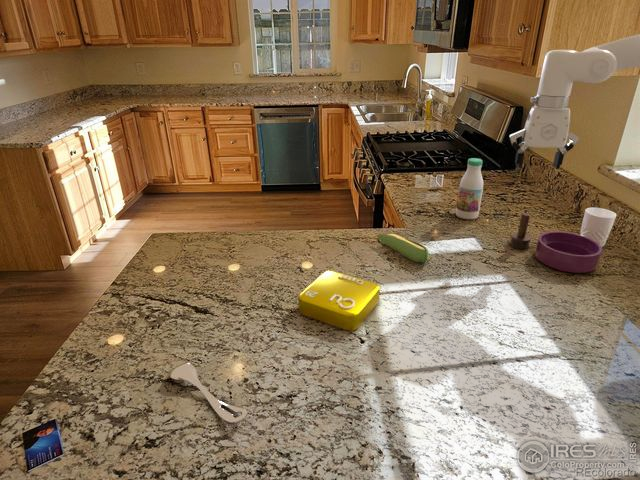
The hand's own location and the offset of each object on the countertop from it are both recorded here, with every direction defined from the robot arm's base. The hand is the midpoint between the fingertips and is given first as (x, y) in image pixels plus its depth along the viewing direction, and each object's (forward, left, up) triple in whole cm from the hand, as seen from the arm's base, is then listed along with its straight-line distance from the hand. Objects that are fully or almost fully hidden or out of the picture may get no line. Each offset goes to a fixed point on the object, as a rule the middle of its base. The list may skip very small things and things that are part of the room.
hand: (537, 166), depth 117 cm
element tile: (+50, +39, -24) cm, 68 cm away
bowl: (-10, +8, -24) cm, 27 cm away
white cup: (-22, -5, -24) cm, 33 cm away
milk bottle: (+12, -22, -24) cm, 35 cm away
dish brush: (0, 0, -24) cm, 24 cm away
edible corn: (+35, +9, -24) cm, 44 cm away
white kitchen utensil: (+70, +70, -24) cm, 102 cm away
